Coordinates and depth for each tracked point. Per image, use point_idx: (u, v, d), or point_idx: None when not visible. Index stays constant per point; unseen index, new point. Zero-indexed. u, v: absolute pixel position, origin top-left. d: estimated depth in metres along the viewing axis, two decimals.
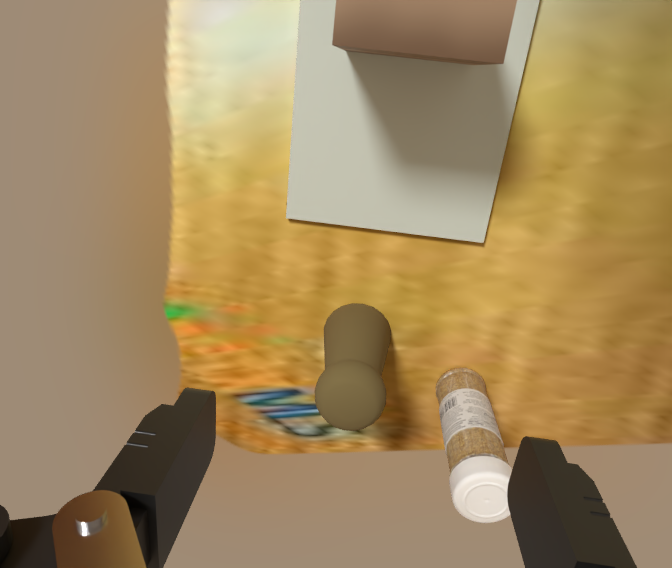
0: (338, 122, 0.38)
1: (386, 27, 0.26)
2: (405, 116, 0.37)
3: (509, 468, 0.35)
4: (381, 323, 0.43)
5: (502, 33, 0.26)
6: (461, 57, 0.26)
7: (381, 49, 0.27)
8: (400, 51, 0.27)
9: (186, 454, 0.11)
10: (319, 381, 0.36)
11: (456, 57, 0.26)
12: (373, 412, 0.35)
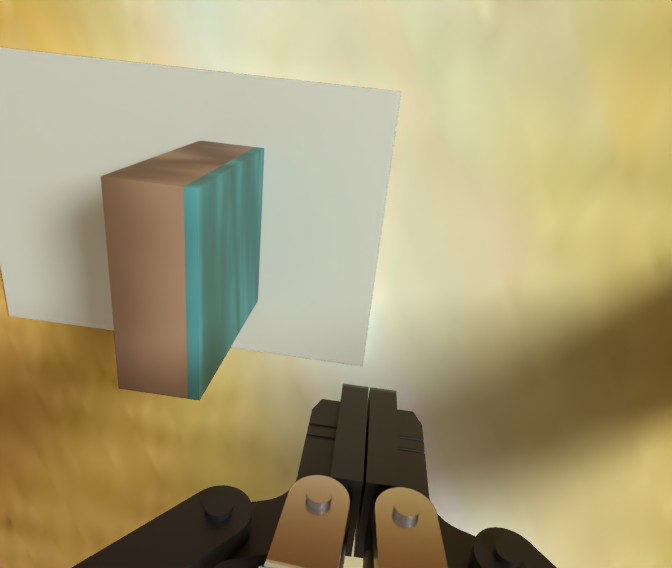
0: (111, 129, 0.27)
1: (134, 253, 0.19)
2: None
3: None
4: None
5: (150, 385, 0.21)
6: (116, 343, 0.20)
7: (108, 245, 0.19)
8: (110, 270, 0.19)
9: None
10: None
11: (115, 338, 0.20)
12: None
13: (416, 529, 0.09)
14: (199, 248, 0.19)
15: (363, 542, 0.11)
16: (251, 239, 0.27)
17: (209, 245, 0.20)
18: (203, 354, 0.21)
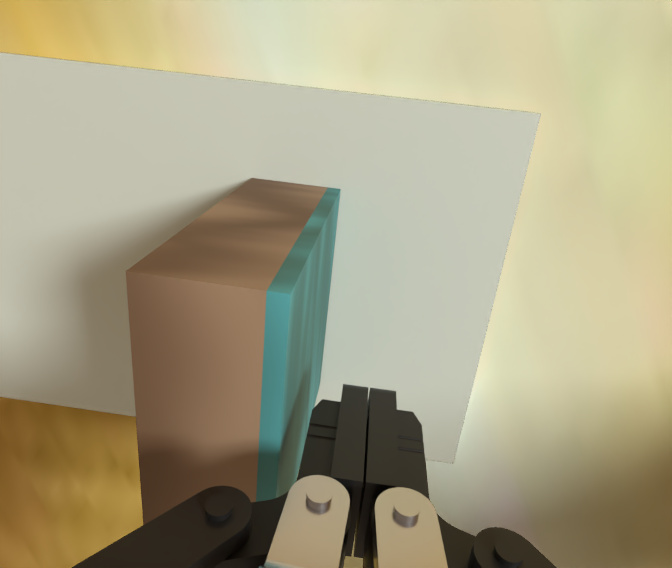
0: (130, 162, 0.20)
1: (178, 387, 0.12)
2: None
3: None
4: None
5: None
6: (145, 511, 0.13)
7: (135, 375, 0.12)
8: (138, 411, 0.12)
9: None
10: None
11: (143, 503, 0.13)
12: None
13: (416, 529, 0.09)
14: (285, 381, 0.11)
15: (363, 542, 0.11)
16: (322, 315, 0.19)
17: (293, 366, 0.12)
18: None
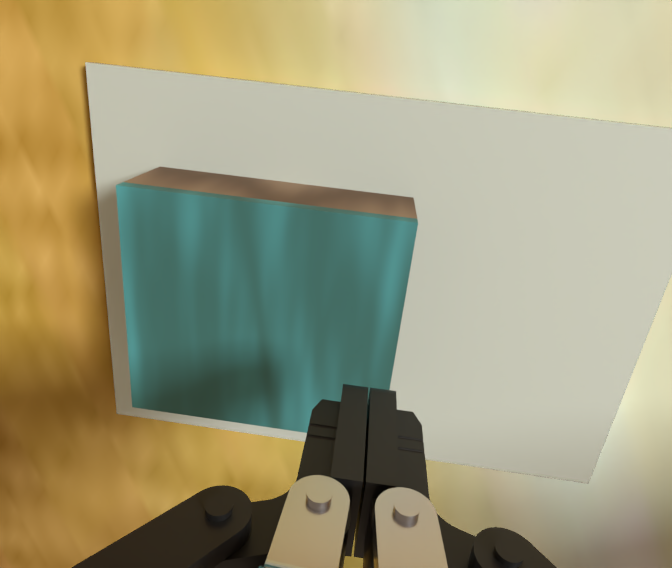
0: (289, 181, 0.20)
1: None
2: None
3: None
4: None
5: None
6: None
7: None
8: None
9: None
10: None
11: None
12: None
13: (416, 529, 0.09)
14: (126, 250, 0.18)
15: (363, 542, 0.11)
16: (339, 334, 0.18)
17: (154, 260, 0.18)
18: (142, 368, 0.19)
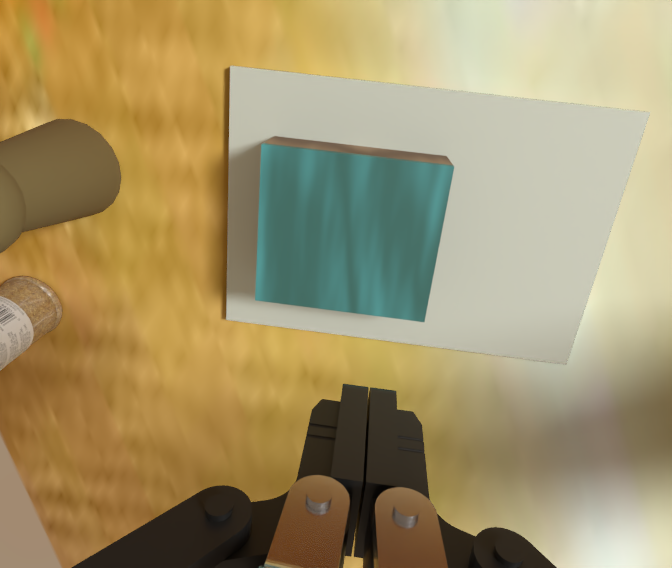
0: (363, 145, 0.29)
1: None
2: None
3: None
4: (97, 208, 0.31)
5: None
6: None
7: None
8: None
9: None
10: None
11: None
12: None
13: (416, 529, 0.09)
14: (263, 188, 0.27)
15: (363, 542, 0.11)
16: (400, 243, 0.28)
17: (281, 194, 0.27)
18: (265, 271, 0.29)
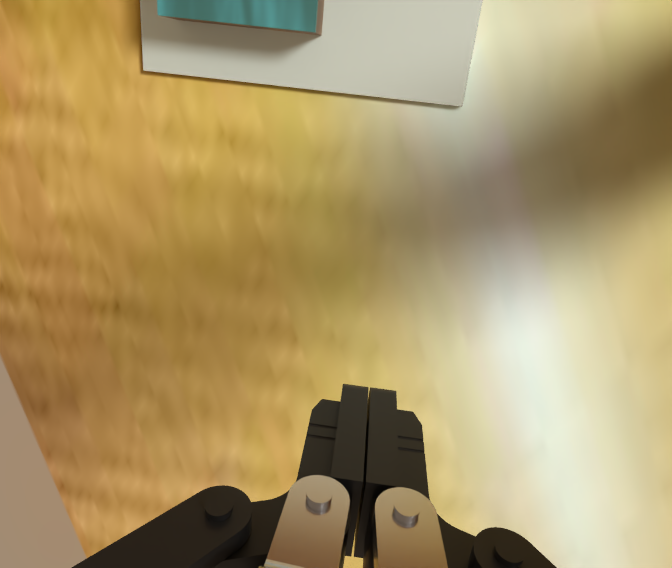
0: None
1: None
2: None
3: None
4: None
5: None
6: None
7: None
8: None
9: None
10: None
11: None
12: None
13: (416, 529, 0.09)
14: None
15: (363, 542, 0.11)
16: None
17: None
18: None
